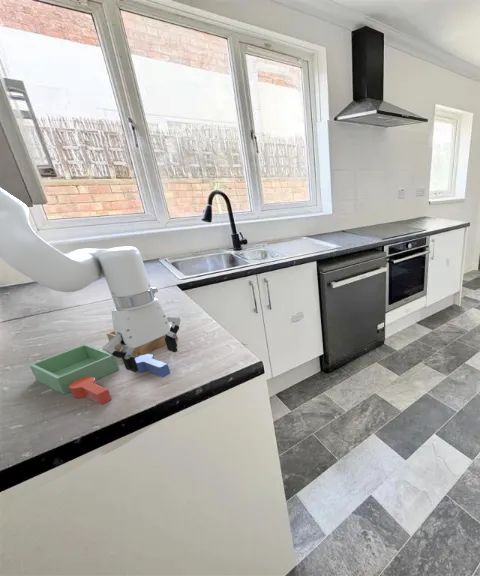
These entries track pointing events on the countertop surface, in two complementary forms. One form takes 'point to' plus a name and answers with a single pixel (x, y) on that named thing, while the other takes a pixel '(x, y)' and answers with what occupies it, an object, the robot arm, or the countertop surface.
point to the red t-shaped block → (90, 390)
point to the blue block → (151, 365)
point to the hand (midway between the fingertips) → (154, 360)
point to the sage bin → (73, 367)
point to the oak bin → (143, 348)
